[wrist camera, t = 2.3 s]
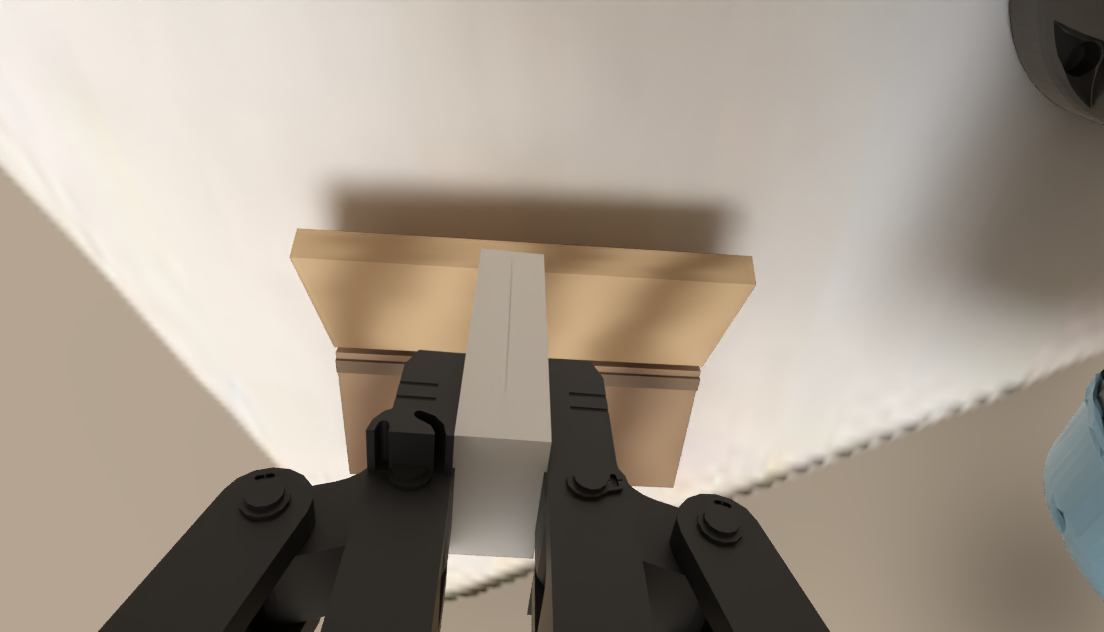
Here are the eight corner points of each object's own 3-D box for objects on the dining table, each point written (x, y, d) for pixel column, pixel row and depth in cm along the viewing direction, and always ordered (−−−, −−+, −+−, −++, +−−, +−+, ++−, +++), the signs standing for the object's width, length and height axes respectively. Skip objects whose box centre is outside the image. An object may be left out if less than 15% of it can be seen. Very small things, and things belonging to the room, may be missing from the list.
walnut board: (695, 355, 38) (701, 373, 36) (669, 470, 43) (673, 490, 41) (342, 337, 37) (334, 354, 35) (355, 456, 42) (348, 476, 40)
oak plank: (751, 256, 29) (756, 284, 29) (700, 341, 37) (702, 366, 36) (297, 228, 28) (289, 257, 28) (339, 322, 36) (334, 347, 35)
